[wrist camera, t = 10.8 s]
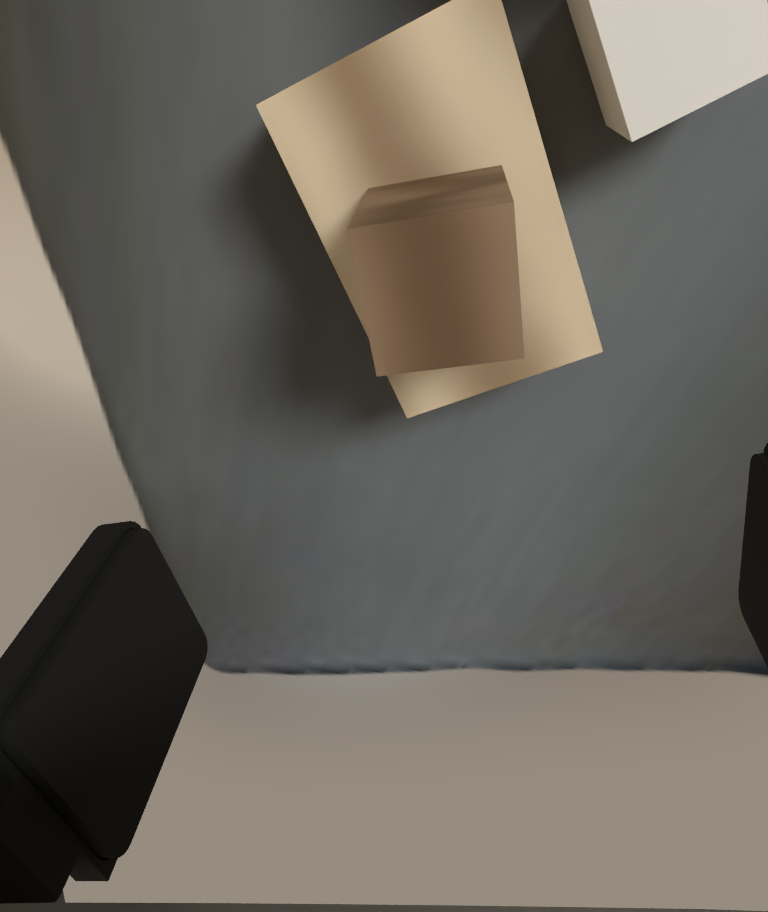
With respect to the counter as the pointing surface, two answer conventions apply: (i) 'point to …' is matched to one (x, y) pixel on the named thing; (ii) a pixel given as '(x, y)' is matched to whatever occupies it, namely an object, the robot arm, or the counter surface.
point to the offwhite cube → (668, 55)
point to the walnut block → (439, 272)
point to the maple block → (438, 171)
